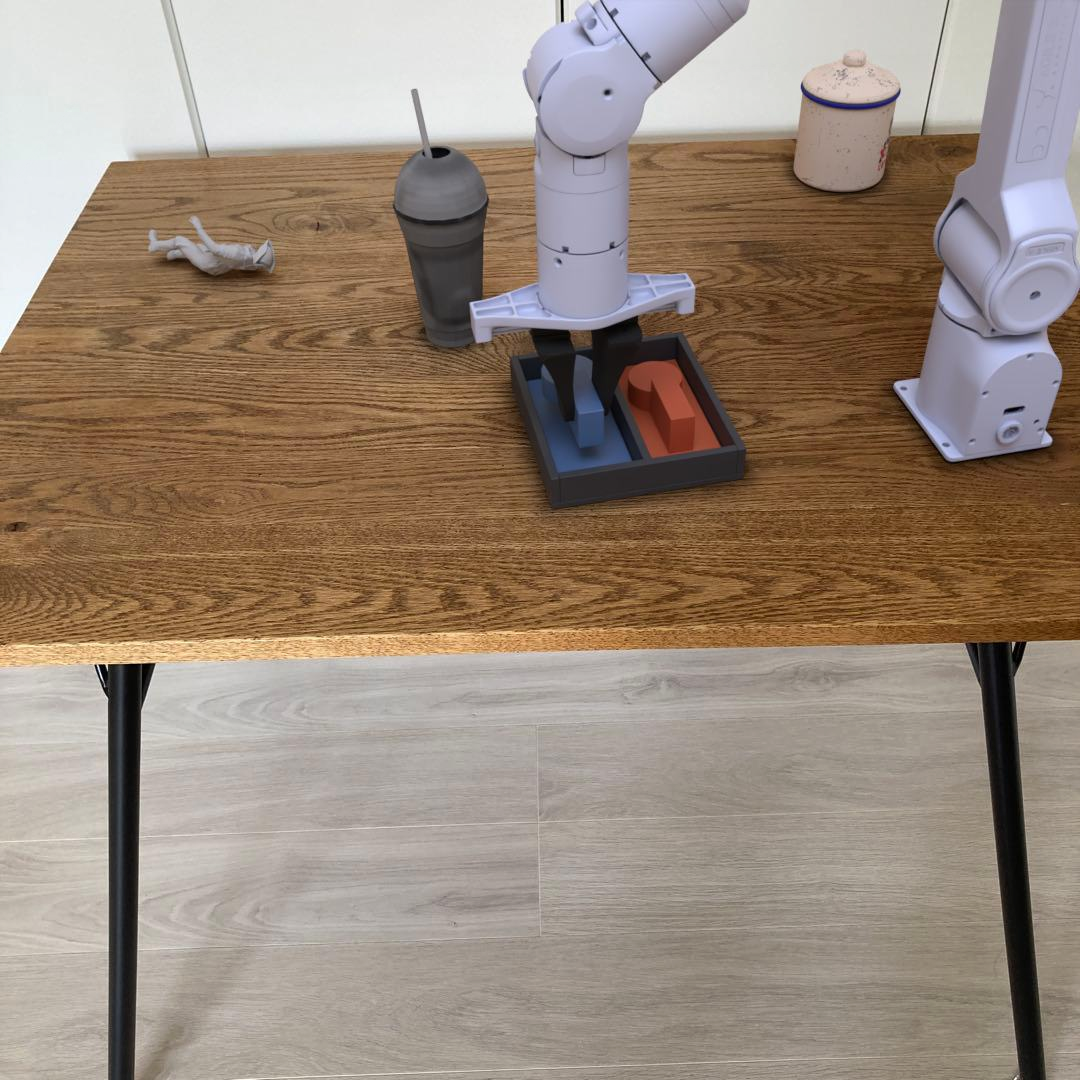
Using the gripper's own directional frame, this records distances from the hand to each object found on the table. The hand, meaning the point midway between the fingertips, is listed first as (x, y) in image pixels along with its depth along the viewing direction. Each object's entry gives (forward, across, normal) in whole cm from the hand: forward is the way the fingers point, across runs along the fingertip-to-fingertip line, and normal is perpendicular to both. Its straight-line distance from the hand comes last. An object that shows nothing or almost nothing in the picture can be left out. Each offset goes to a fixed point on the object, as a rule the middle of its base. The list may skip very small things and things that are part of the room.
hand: (583, 410), depth 82 cm
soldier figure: (+4, +26, -33) cm, 42 cm away
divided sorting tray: (+4, -3, -2) cm, 5 cm away
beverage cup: (+4, +7, -18) cm, 20 cm away
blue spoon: (+1, 0, -2) cm, 3 cm away
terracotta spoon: (+3, -6, -2) cm, 8 cm away
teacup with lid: (+4, -34, -38) cm, 51 cm away
